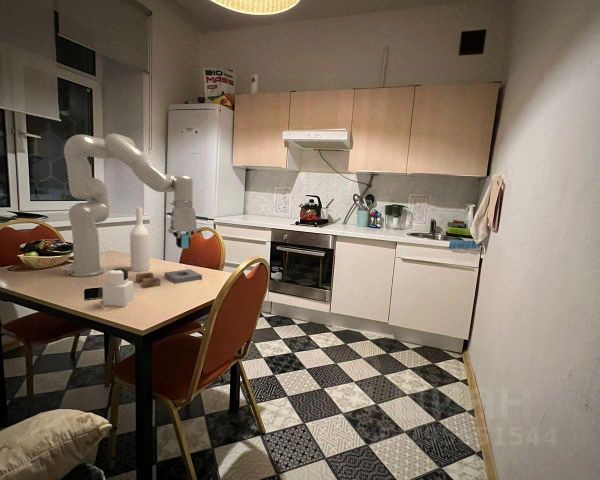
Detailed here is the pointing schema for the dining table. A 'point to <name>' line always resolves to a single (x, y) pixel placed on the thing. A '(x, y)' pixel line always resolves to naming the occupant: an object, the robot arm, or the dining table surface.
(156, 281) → the brown notched block
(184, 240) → the plug
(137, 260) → the bottle
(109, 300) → the medicine bottle
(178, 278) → the port block
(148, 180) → the robot arm
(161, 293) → the dining table surface
